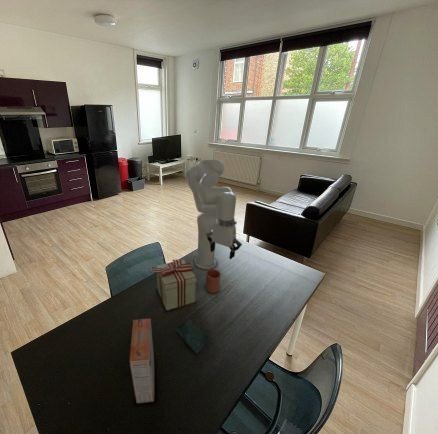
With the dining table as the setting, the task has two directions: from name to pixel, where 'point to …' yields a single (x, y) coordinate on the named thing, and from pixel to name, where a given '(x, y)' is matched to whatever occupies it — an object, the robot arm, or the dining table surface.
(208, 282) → the cup
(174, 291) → the gift box
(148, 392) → the cracker box
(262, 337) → the dining table surface
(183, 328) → the terrain model
